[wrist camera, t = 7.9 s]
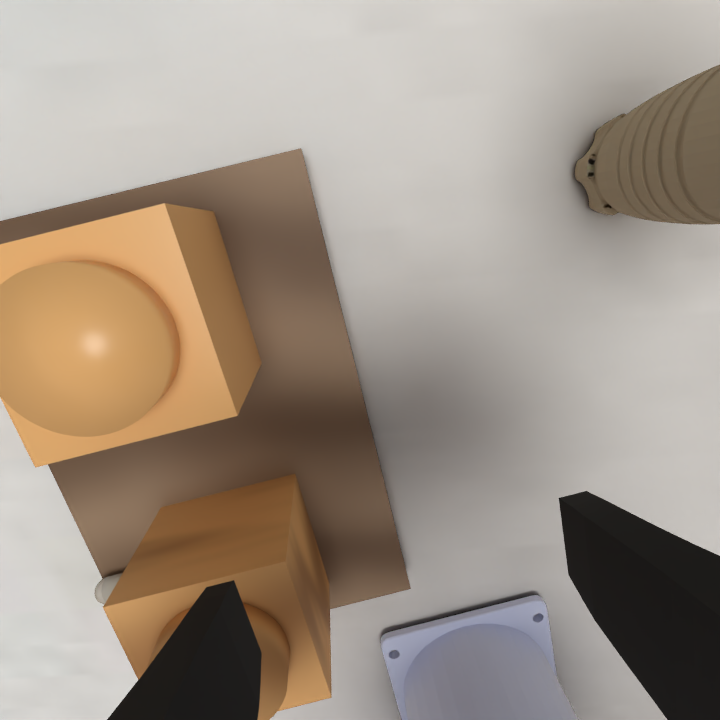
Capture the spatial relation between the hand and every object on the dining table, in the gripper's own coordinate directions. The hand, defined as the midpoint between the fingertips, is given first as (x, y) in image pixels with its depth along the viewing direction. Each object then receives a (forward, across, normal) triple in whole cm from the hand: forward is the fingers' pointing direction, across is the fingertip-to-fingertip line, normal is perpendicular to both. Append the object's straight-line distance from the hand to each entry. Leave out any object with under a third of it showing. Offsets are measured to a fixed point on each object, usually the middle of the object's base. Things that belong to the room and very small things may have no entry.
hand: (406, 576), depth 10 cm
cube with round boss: (+8, +6, -6) cm, 12 cm away
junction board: (+9, +6, -1) cm, 11 cm away
